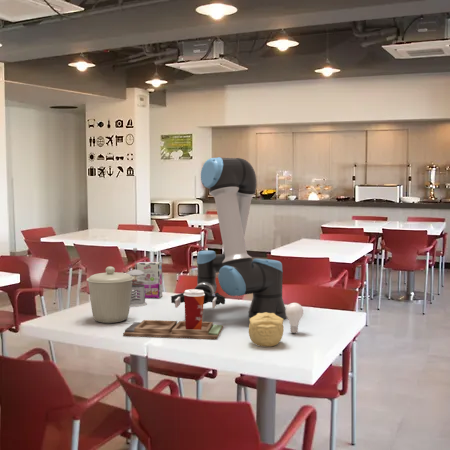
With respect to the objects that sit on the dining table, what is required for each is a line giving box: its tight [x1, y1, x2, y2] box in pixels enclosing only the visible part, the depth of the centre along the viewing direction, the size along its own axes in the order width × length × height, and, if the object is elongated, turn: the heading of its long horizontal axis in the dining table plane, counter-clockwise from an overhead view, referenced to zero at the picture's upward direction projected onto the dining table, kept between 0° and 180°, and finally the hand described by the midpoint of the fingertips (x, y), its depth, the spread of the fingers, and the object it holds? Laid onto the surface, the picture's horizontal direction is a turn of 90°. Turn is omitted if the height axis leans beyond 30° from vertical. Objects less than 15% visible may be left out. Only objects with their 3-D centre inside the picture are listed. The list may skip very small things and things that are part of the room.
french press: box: [126, 247, 151, 308], centre depth 259 cm, size 10×12×25 cm
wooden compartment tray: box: [122, 319, 224, 340], centre depth 212 cm, size 33×16×2 cm, turn 82°
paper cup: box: [183, 288, 205, 330], centre depth 211 cm, size 8×8×14 cm
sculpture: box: [248, 312, 285, 348], centre depth 196 cm, size 12×12×11 cm
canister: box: [86, 265, 135, 324], centre depth 230 cm, size 18×18×21 cm
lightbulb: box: [285, 302, 304, 335], centre depth 210 cm, size 6×6×11 cm
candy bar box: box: [135, 261, 163, 299], centre depth 275 cm, size 11×5×16 cm, turn 81°
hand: (194, 304), depth 214 cm, fingers open, 13 cm apart
